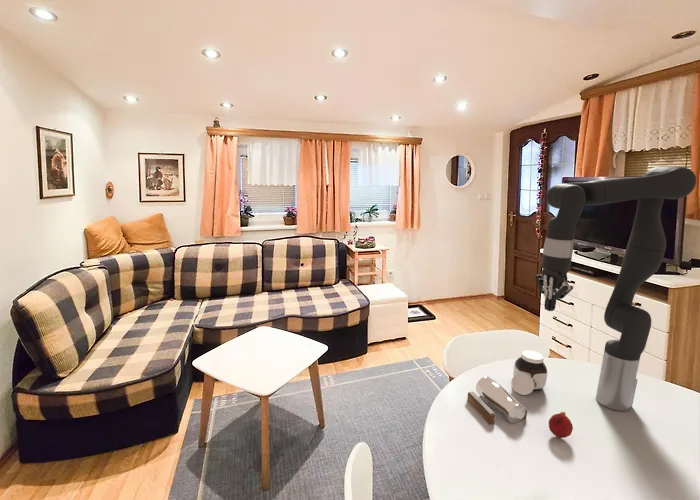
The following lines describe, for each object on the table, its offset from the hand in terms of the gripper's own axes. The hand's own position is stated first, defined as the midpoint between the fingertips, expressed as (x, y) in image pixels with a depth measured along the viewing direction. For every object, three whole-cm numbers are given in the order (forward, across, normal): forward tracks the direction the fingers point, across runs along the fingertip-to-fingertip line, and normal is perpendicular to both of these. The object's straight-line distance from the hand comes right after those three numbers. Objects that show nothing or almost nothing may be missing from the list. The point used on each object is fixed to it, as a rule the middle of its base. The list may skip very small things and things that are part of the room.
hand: (549, 310), depth 115 cm
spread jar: (+32, +9, -4) cm, 34 cm away
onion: (+32, -14, +4) cm, 36 cm away
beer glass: (+29, -7, +12) cm, 32 cm away
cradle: (+32, 0, +14) cm, 35 cm away
